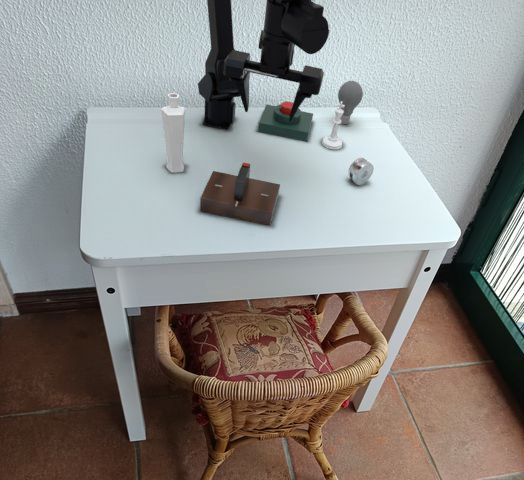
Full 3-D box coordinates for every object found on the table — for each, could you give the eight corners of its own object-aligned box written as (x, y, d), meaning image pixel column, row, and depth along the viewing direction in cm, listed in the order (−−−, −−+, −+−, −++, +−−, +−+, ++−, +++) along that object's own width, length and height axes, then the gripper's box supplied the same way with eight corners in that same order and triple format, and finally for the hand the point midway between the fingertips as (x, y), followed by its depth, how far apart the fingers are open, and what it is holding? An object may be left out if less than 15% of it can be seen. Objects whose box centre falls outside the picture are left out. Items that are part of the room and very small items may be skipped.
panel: (199, 212, 95) (199, 198, 93) (213, 182, 102) (213, 169, 99) (269, 226, 95) (271, 213, 92) (278, 196, 101) (280, 182, 99)
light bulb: (346, 131, 122) (356, 89, 114) (327, 121, 124) (336, 80, 116) (359, 124, 125) (370, 83, 117) (341, 114, 127) (350, 74, 120)
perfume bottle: (166, 160, 105) (162, 88, 93) (186, 163, 105) (185, 91, 94) (162, 172, 102) (158, 99, 90) (183, 174, 102) (182, 102, 91)
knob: (242, 200, 94) (243, 181, 90) (233, 199, 94) (235, 179, 90) (248, 182, 98) (250, 163, 95) (241, 181, 98) (242, 161, 95)
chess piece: (340, 151, 116) (351, 108, 108) (320, 147, 116) (329, 104, 108) (342, 141, 119) (353, 99, 111) (323, 137, 119) (332, 95, 111)
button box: (258, 131, 117) (259, 115, 114) (265, 112, 123) (267, 96, 120) (306, 141, 117) (309, 125, 114) (311, 122, 123) (314, 106, 120)
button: (279, 114, 116) (280, 106, 115) (281, 107, 118) (282, 100, 117) (293, 117, 116) (295, 109, 115) (296, 110, 118) (297, 103, 117)
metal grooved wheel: (352, 187, 106) (358, 166, 103) (344, 180, 108) (350, 159, 104) (369, 182, 109) (376, 161, 105) (361, 175, 110) (367, 154, 106)
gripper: (334, 26, 93) (317, 108, 105) (239, 6, 93) (233, 89, 105) (327, 47, 86) (310, 133, 98) (225, 26, 86) (220, 113, 98)
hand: (268, 116), depth 100 cm, fingers open, 9 cm apart
